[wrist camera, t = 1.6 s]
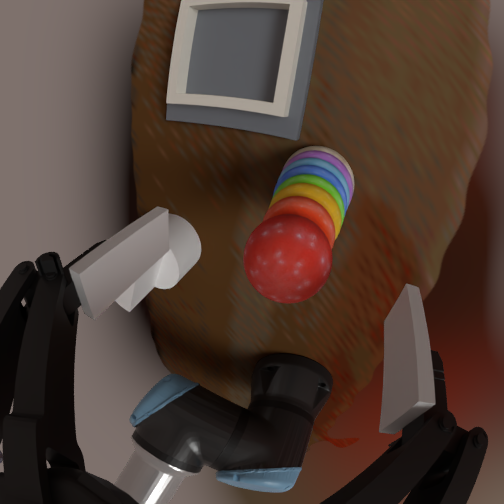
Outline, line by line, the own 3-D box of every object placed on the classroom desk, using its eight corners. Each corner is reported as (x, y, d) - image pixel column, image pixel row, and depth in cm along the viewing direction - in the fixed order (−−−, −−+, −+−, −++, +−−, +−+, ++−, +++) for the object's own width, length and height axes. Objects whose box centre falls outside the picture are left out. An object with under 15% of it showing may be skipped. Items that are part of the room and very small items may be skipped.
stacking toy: (271, 189, 31) (183, 282, 16) (305, 131, 26) (237, 164, 11) (328, 226, 31) (295, 352, 16) (368, 172, 26) (388, 265, 11)
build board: (298, 139, 27) (292, 142, 24) (173, 118, 30) (156, 121, 28) (324, -7, 17) (320, -20, 14) (191, -7, 21) (175, -15, 18)
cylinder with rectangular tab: (190, 277, 43) (147, 326, 33) (147, 246, 43) (97, 287, 33) (209, 235, 37) (159, 285, 28) (159, 202, 38) (100, 240, 28)
